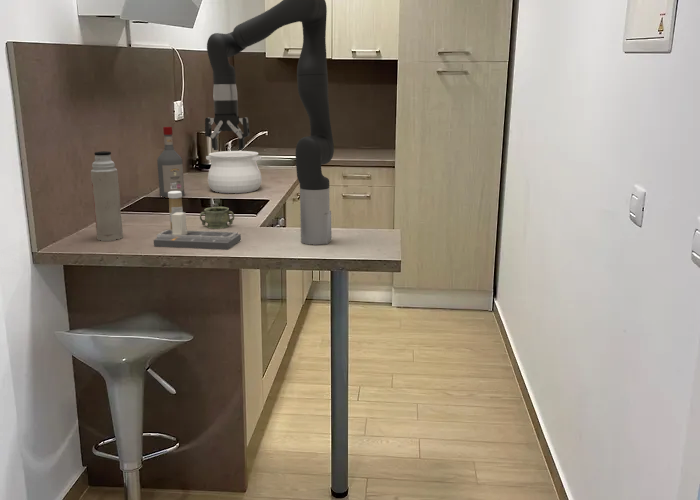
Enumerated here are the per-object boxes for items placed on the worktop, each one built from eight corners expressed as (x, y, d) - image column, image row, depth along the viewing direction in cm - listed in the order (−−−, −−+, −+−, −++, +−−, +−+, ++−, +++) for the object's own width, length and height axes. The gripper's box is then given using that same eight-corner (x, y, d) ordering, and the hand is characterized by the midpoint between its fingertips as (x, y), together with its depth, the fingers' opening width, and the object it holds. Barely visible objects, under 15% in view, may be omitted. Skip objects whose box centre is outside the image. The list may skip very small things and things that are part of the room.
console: (240, 240, 219) (240, 230, 219) (228, 249, 208) (227, 239, 207) (170, 237, 224) (169, 227, 223) (153, 246, 212) (153, 236, 211)
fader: (187, 233, 218) (186, 212, 217) (181, 237, 214) (179, 215, 212) (178, 233, 219) (177, 212, 217) (172, 237, 214) (170, 215, 212)
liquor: (186, 197, 298) (182, 127, 290) (166, 199, 292) (161, 128, 285) (177, 194, 305) (173, 126, 297) (158, 196, 299) (153, 126, 292)
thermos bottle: (93, 241, 219) (84, 153, 212) (102, 235, 227) (94, 150, 220) (117, 241, 219) (110, 153, 212) (126, 235, 227) (119, 150, 220)
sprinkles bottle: (171, 229, 235) (168, 190, 232) (185, 229, 236) (182, 190, 232) (169, 232, 231) (166, 192, 228) (183, 232, 231) (180, 192, 228)
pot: (199, 194, 306) (197, 156, 302) (216, 185, 329) (214, 150, 325) (255, 195, 303) (254, 156, 299) (268, 186, 326) (267, 150, 322)
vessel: (235, 223, 245) (234, 206, 243) (234, 228, 236) (233, 211, 235) (201, 224, 244) (200, 206, 242) (198, 229, 235) (197, 211, 234)
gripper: (250, 98, 221) (252, 149, 225) (208, 98, 223) (211, 148, 227) (243, 99, 214) (246, 151, 218) (200, 99, 216) (203, 151, 220)
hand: (228, 150), depth 223 cm, fingers open, 8 cm apart
